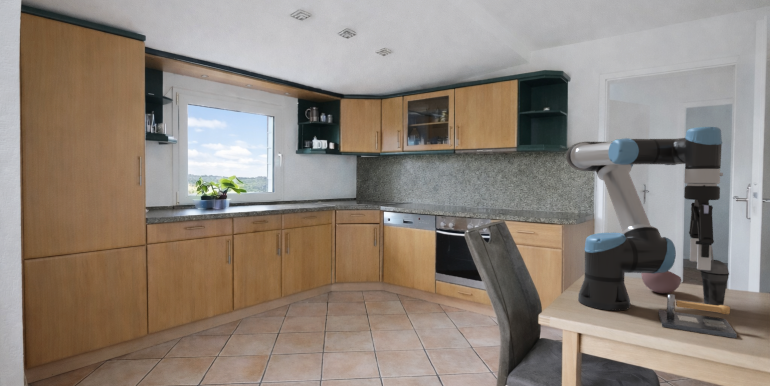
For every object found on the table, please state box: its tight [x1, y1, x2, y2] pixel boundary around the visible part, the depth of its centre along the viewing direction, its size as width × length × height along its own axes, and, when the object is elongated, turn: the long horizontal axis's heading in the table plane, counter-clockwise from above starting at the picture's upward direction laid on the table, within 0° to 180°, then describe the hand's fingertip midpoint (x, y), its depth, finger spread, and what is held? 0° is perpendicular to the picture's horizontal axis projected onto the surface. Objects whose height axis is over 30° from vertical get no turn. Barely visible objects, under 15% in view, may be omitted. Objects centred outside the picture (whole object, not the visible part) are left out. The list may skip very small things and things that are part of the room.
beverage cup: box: [699, 245, 730, 306], centre depth 129 cm, size 7×7×20 cm
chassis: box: [657, 293, 738, 339], centre depth 114 cm, size 16×13×8 cm
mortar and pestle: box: [640, 270, 682, 294], centre depth 146 cm, size 12×12×12 cm
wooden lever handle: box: [675, 299, 731, 315], centre depth 113 cm, size 12×2×2 cm, turn 59°
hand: (699, 265), depth 109 cm, fingers open, 11 cm apart
